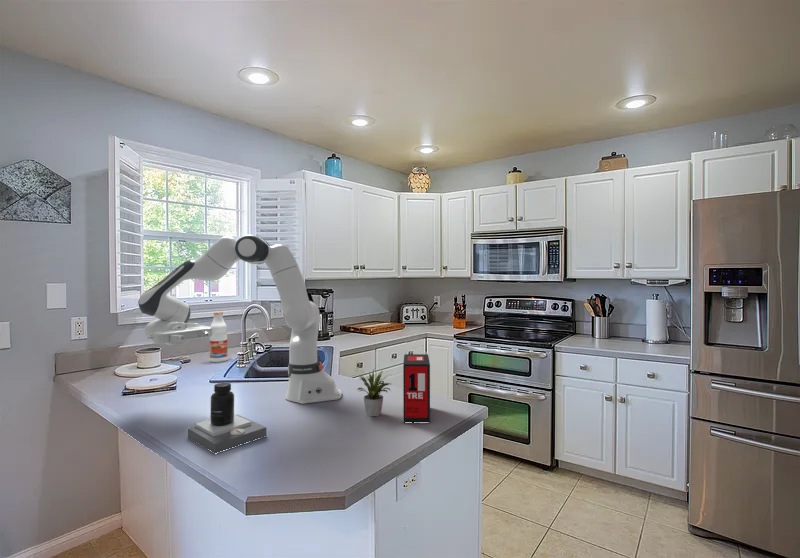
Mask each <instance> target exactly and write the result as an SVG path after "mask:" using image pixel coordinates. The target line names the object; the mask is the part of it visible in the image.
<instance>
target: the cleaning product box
mask: <svg viewBox="0 0 800 558" xmlns="http://www.w3.org/2000/svg"><path fill="white" fill-rule="evenodd" d="M429 358H430V357H429V354H426V353H424V354H423V353H422V354H421V353H420V354H419V353H417V354H416V353H413V354H412V353H411V354H408V353H405V354H404V355H403V363H402V364H403V372H402V375H403V376H402V377H403V378H402V379H403V380H402V381H403V382H402V383H403V390H402V391H403V424H406V423H405V422H412V423H411V424H415V423H414V422H430V423H431V364H430V359H429Z"/></svg>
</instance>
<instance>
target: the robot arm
mask: <svg viewBox="0 0 800 558" xmlns="http://www.w3.org/2000/svg"><path fill="white" fill-rule="evenodd" d="M240 260H242V262H245V263H248V264H252V265H262V264H265V265H266V266H267V267H268V270H269V272H270V274H271V277H272V279H273V282H274V284H275V287H276V290H277V292H278V295H279V298H280V303H281V307H282V311H283V315H284V323H285V324H286V326H287V327H288V328H290V329H291V334H290V339H289V340H290V341H289V345H288V348H289V352H288V353H289V354H288V355H289V356H288V357H289V358H288V359H289V362H288V365H287V374H288V385H287V391H286V395H285V399H286V401H289V402H294V403H298V404H302V405H303V404H304V405H305V404H312V403H320V402H328V401H337V400H339V399H341V398H342V396H343V393H342V390H341V389H340V388H337V384H336V380H335V379H334V377H332V376H331V375H329V373H326V372H325V371H323V369H324V365H323V363H322V362H321V361H319V360H318V339H319V338H318V337H319V327H320V309H319V306H318V305H317V304H316V303H314V302H313V301H312V300H310V298H309V295H308V292H307V288H306V286H307V285H306V282H305V280H304V278H303V275H302V273H301V269H300V267H299V265H298V262H297V260H296V258H295V257H294V255H293V252H292V251H291V250H290V249H289V247H288V246H287V245H285V244H274V245H270V243H268V242H267V241H266V240H264V239H263V238H262V237H260V236H256V235H254V234H246V235H243V236H240V237H239V238H238V240H237V239H236V238H234V237H233V236H231V235H230V236H229V235H224V236H222V237H220V238H219V239H217V241H215V242H214V243H213V244H212V245H211V246H210V247H209V248H208V249H207V250H205V252H204V253H203V254H202V255H201V256H199V257H197V258H195V259H188V260H186V261H184V262H183V263H181V264H180V265H178V266H177V267H176V268H174V270H172V271H171V272H170V273H168V274H167V275H166V276H164V277H163V278H162V280H160V281H159V282H158V283H156V284H155V285H154V286H152V287H150V288H149V289H147V290H146V291H144V292H143V293H142V294H141V295H140V297H139V299H138V303H137V304H138V307H139V309H140V312H141V313H142V314H145V315H147V316H151V317H154V318H156V319H154V320H151V321H149V322H148V323H147V324H146V325H145V328H144V334H145V336H146V337H147V339H148V340H150V341H152V343H153V344H157V345H163V344H164V345H168V346H174V347H175V346H180V345H182V344H185V343H188V342H192V341H195V340H198V339H199V340H200V339H206V338H207V339H208V338H210V337H211V336H212V328H211V327H210V326H208V325H202V324H199V323H198V322H189V320H190V318H191V307H190V305H189V304H188V303H187V302H185V301H182V299H179V298H176V297H174V296H172V295H170V294H169V293H170V292H171V291H173V290H174V289H175V288H176V287H177V286H179V285H180V284H181V283H182V282H184V281H187V280H199V281H206V282H211V281H218V280H220V279H221V278H223V277H224V276H225V275H226V274H227V273H228V271H230V269H231V268H232V267H233V266H234V265H235V264H236V263H237V262H239V261H240Z"/></svg>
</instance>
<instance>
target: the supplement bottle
mask: <svg viewBox="0 0 800 558" xmlns="http://www.w3.org/2000/svg"><path fill="white" fill-rule="evenodd" d="M213 386H214V387H213V391H214V393H212V394H211V396H210V418H209V420H210V421H211V424H212V425H214V426H224V425H228V424H231V423H232V422H233V421H234V414H235V393H234V392H233V391H231V390H232V383H230V382H218V383H216V384H214V385H213Z"/></svg>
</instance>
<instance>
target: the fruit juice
mask: <svg viewBox="0 0 800 558" xmlns="http://www.w3.org/2000/svg"><path fill="white" fill-rule="evenodd" d="M223 314H224V312H222V311H214V312H213V318H212V322H211V324H210V325H209V327H211V328H212V336H211V337H209V362H211V363H220V362H221V363H222V362H226V361H227V360H228V359H229V358H228V334H227V330H228V326H227V325H228V324H227V323H226V322H225V320H224V316H223Z"/></svg>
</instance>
